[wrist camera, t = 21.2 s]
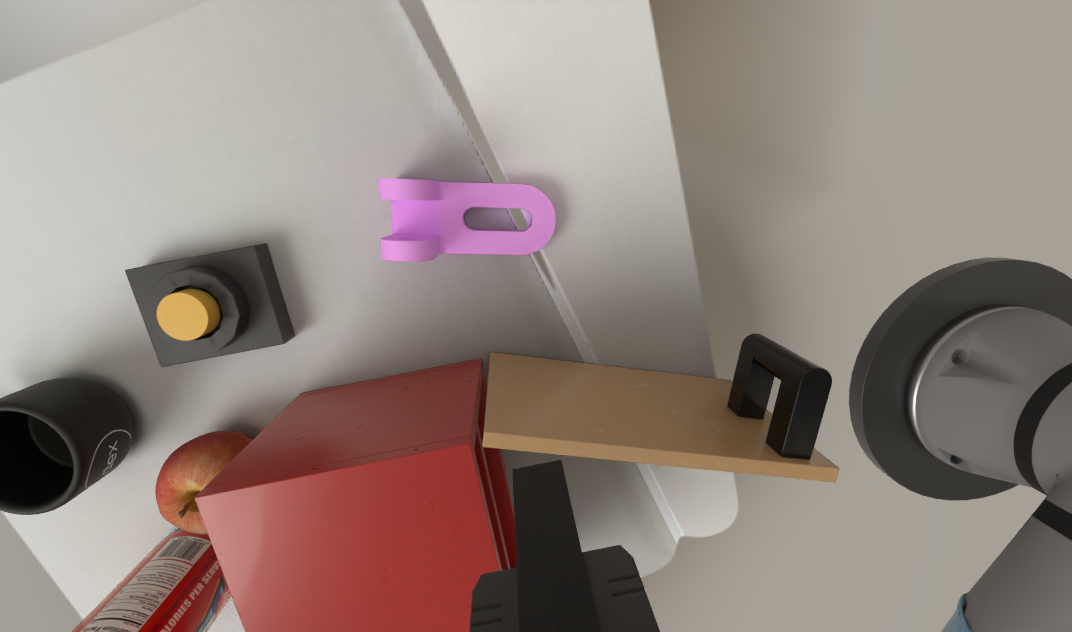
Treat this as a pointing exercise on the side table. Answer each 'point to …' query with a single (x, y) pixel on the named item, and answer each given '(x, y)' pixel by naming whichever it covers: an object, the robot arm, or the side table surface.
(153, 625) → the soda can
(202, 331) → the alarm button
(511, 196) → the bracket
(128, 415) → the mug
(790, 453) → the cabinet door
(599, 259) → the side table surface
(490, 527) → the cabinet
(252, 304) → the box
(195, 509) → the apple
